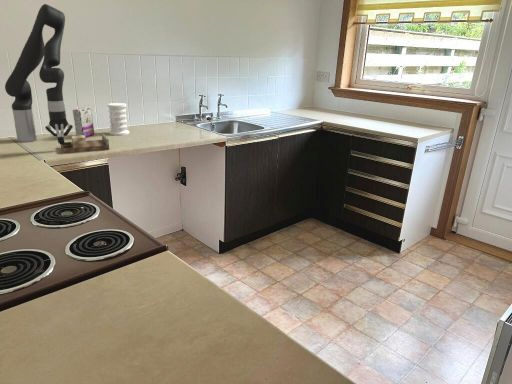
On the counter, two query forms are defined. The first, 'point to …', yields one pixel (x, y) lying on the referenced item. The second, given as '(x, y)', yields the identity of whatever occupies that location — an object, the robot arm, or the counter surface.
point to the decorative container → (118, 119)
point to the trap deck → (86, 146)
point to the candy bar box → (83, 122)
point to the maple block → (79, 140)
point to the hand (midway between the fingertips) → (61, 144)
